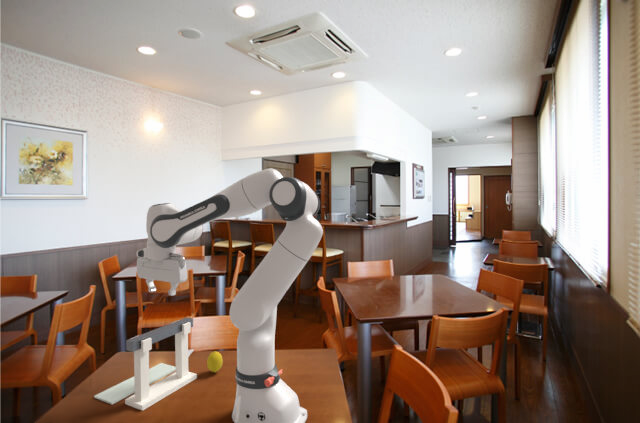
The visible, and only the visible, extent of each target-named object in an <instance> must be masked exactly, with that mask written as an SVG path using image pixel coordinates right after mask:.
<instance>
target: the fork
mask: <svg viewBox="0 0 640 423" xmlns="http://www.w3.org/2000/svg"><path fill="white" fill-rule="evenodd" d="M194 350H195V349H188V358H189V357H190V356H191V355H192V353H193V352H194Z"/></svg>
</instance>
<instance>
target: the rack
mask: <svg viewBox="0 0 640 423" xmlns="http://www.w3.org/2000/svg"><path fill="white" fill-rule="evenodd" d="M176 321H177V320H175V321H173V322H176ZM173 322H171V323H173ZM191 332H192V327H191V322H187V323H185V324H182V331H181V332H179V333H177V334H174V346H175V349H174V350H175V354H174V355H175V356H174V357H175V359H174V360H175V367H176V371H174V372H172V373H170V374H168V375H167V376H165V377H163V378H161V379H159V380H157V381H155V382H154V383H152V384H149V369H150V351H151V350H152V349H153V348H152V347H153V346H152V345H153V344H152V338H147V339H145V340H142V341H141V349H139V350H136V351H134V352H133V372H134V376H133V377H134V383H135V393H133V394H131V395H130V396H128V397H126V398H124V403H125V405H127V406H129V407H131V408H134V409H137V410H141V411H144V410H146V409H148V408H149V407H151V406H152V405H155V404H156V403H157V402H159V401H161V400H163V399H164V398H166V397H168V396H170V395H171V394H173V393H174V392H177V391H178V390H179V389H181V388H183V387H184V386H186V385H188V384H189V383H191V382H193V381H194V380H196V379H198V374H197V373H194V372H191V371H189V357H188V350H189V334H190V333H191ZM139 335H140V334H138V335H137V336H139ZM134 337H135V336H134ZM134 337H132V338H134Z"/></svg>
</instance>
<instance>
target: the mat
mask: <svg viewBox="0 0 640 423" xmlns="http://www.w3.org/2000/svg"><path fill="white" fill-rule="evenodd" d="M175 372H176V366H174V365H170V364H167V363H164V362H160V363H158V364H156V365H154V366H152V367H149V385H152V384H154V383H156V382H158V381H160V380H162V379H164V378H165V377H167V376H169V375H171V374H173V373H175ZM134 394H135V383H134V376H131V377H129V378H128V379H125V380H123V381H122V382H119V383H118V384H116V385H113V386H111V387H109V388H107V389H104V390H103V391H101V392H99V393H97V394H95V395H93V396H94V397H93V398H94V399H97V400H99V401H102V402H104V403H107V404H110V405H114V404H116V403H118V402H120V401H121V400H124V399H126V398H128V397H130V396H132V395H134Z"/></svg>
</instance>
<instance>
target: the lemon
mask: <svg viewBox="0 0 640 423" xmlns="http://www.w3.org/2000/svg"><path fill="white" fill-rule="evenodd" d="M223 363H224V362H223V356H222V354H221V353H220V352H218V351H216V350H215V351H212V352H210V353H209V355H208V356H207V360H206V367H207V368H208V370H209V371H210V372H212V373H217V372H218V371H219V370H221V368H222V366H223Z"/></svg>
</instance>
